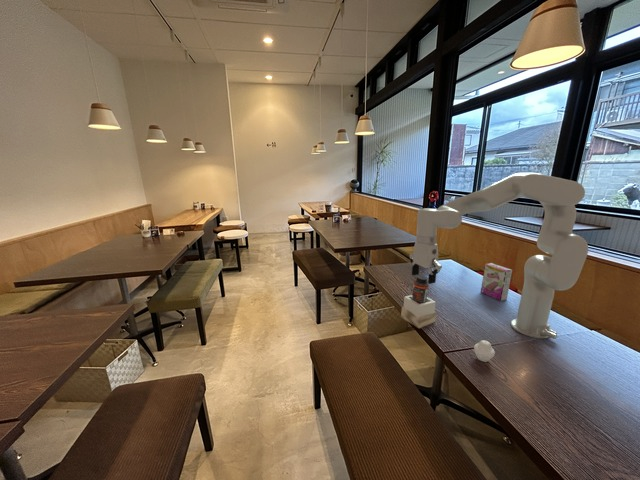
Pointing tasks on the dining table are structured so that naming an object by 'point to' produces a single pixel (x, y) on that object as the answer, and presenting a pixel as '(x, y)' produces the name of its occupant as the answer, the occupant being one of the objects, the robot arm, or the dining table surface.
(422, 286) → the supplement bottle
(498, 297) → the candy bar box
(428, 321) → the tower base
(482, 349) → the white cupcake
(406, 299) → the tower top
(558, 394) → the dining table surface
